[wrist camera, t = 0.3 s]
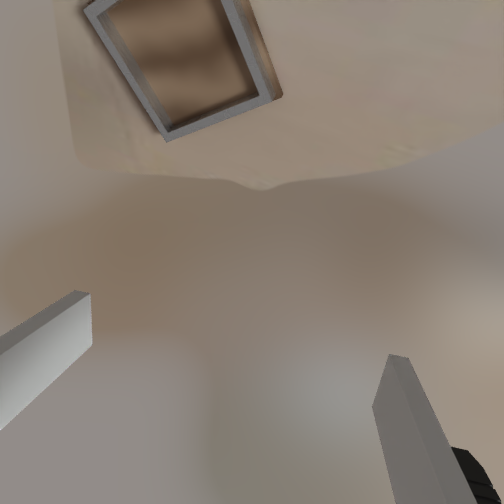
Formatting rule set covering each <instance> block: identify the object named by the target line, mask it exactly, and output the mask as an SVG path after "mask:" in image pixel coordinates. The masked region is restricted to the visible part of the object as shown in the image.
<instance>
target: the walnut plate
mask: <svg viewBox="0 0 504 504" xmlns="http://www.w3.org/2000/svg"><path fill="white" fill-rule="evenodd" d="M94 1H95V0H92V1H90V2H89V3H88V4H89V5H90V4H92V3H93V2H94ZM240 2H241V4H242V7H243V10H244V12H245V15H246V18H247V20H248V23H249V25H250V28H251V31H252V33H253V36H254V39H255V41H256V44H257V47H258V49H259V52H260V54H261V57H262V60H263V62H264V65H265V68H266V70H267V73H268V75H269V78H270V81H271V83H272V86H273V89H274V91H275V94H276V95H275V97H274V99H273V100H272V101H274V100H276V99H279V98H281V97H282V96H283V92H282V89H281V87H280V84H279V81H278V78H277V76H276V73H275V70H274V67H273V65H272V62H271V59H270V57H269V54H268V51H267V48H266V46H265V43H264V40H263V37H262V35H261V32H260V29H259V27H258V24H257V21H256V18H255V16H254V13H253V10H252V7H251V5H250V2H249V0H240ZM107 13H108V15H109V17H110V19H111V20H112V22H113V24H114V25H115V27H116V29H117V30H118V32H119V34H120V35H121V37H122V39H123V40H124V42H125V44H126V45H127V47H128V49H129V50H130V52H131V54H132V56H133V57H134V59H135V61H136V62H137V64H138V66H139V67H140V69H141V71H142V72H143V74H144V76H145V77H146V79H147V81H148V82H149V84H150V86H151V87H152V89H153V91H154V93H155V94H156V96H157V98H158V99H159V101H160V103H161V104H162V106H163V108H164V109H165V111H166V113H167V114H168V116H169V118H170V119H171V121H172V123H173V124H174V126H176V125H178V124H180V123H183V122H185V121H188V120H190V119H193V118H195V117H197V116H200V115H202V114H205V113H207V112H210V111H212V110H214V109H217V108H219V107H222V106H224V105H226V104H229V103H231V102H234V101H236V100H239V99H241V98H243V97H246V96H248V95H251V94H253V93H256V92H258V90H257V87H256V85H255V83H254V80H253V78H252V75H251V73H250V70H249V68H248V66H247V63H246V61H245V58H244V56H243V53H242V51H241V48H240V46H239V44H238V41H237V39H236V36H235V34H234V31H233V29H232V26H231V24H230V22H229V19H228V17H227V14H226V12H225V9H224V7H223V4H222V2H221V0H124V1H122V2H121V3H119V4H118V5H117V6H115V7H114V8H112V9H111V10H110V11H108V12H107Z"/></svg>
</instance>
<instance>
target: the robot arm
mask: <svg viewBox="0 0 504 504" xmlns="http://www.w3.org/2000/svg"><path fill="white" fill-rule="evenodd" d="M90 297H91V295H90V293H86V292H81V291H77V290H74V291H73V292H71V293H70V294H68V295H66V296H65V297H63V298H61V299H60V300H58V301H57V302H55V303H54V304H52V305H50V306H49V307H47V308H45V309H44V310H42V311H41V312H39V313H37V314H36V315H34V316H33V317H31V318H29V319H28V320H27V321H25V322H23V323H21V324H20V325H18V326H17V327H15V328H14V329H12V330H10V331H9V332H7V333H6V334H4V335H2V336H1V337H0V430H1V429H2V428H3V427H5V426H6V425H7V424H8V423H9V422H10V421H11V420H12V419H13V418H14V417H15V416H16V415H17V414H19V413H20V412H21V411H22V410H23V409H24V408H25V407H26V406H27V405H28V404H29V403H30V402H31V401H33V400H34V399H35V398H36V397H37V396H38V395H39V394H40V393H41V392H42V391H43V390H44V389H45V388H47V387H48V386H49V385H50V384H51V383H52V382H53V381H54V380H55V379H56V378H57V377H58V376H59V375H60V374H62V373H63V372H64V371H65V370H66V369H67V368H68V367H69V366H70V365H71V364H72V363H73V362H74V361H76V360H77V359H78V358H79V357H80V356H81V355H82V354H83V353H84V352H85V351H86V350H87V349H88V348H89V347H90V346H92V322H91V298H90ZM372 408H373V412H374V416H375V421H376V425H377V429H378V433H379V437H380V441H381V445H382V449H383V453H384V457H385V461H386V465H387V469H388V473H389V478H390V482H391V486H392V490H393V494H394V497H395V502H396V504H501V500H500V498H499V496H498V494H497V492H496V490H495V489H493V485H492V483H491V481H490V479H489V478H488V476H487V474H486V472H485V470H484V469H483V467H482V466H481V465H480V464H479V462H478V461H477V460H476V459H475V458H474V457H473V456H472V455H471V454H470V453H469V451H468V450H463V449H459V448H455V447H450V445H449V443H448V440H447V438H446V436H445V434H444V432H443V430H442V428H441V426H440V423H439V421H438V419H437V417H436V415H435V413H434V411H433V409H432V407H431V405H430V402H429V400H428V398H427V396H426V394H425V392H424V390H423V388H422V385H421V383H420V381H419V379H418V377H417V375H416V373H415V371H414V369H413V366H412V364H411V362H410V360H409V358H406V357H401V356H396V355H391V354H389V356H388V359H387V362H386V365H385V369H384V372H383V374H382V378H381V381H380V384H379V387H378V390H377V393H376V396H375V399H374V403H373V406H372Z"/></svg>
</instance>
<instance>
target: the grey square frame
mask: <svg viewBox="0 0 504 504" xmlns="http://www.w3.org/2000/svg"><path fill="white" fill-rule="evenodd" d="M122 1H124V0H95V1H94V2H93V3H92V4H90V5H89V6H88V7H86V8H85V9H84V10H83V11H84V13H85V14H86V16H87V17H88V19H89V21H90V22H91V24H92V25H93V27H94V28H95V30H96V32H97V33H98V35H99V36H100V38H101V40H102V41H103V43H104V44H105V46H106V48H107V49H108V51H109V52H110V54H111V55H112V57H113V59H114V60H115V62H116V63H117V65H118V67H119V68H120V70H121V71H122V73H123V75H124V76H125V78H126V79H127V81H128V82H129V84H130V86H131V87H132V89H133V90H134V92H135V94H136V95H137V97H138V98H139V100H140V101H141V103H142V105H143V106H144V108H145V109H146V111H147V113H148V114H149V116H150V117H151V119H152V121H153V122H154V124H155V125H156V127H157V128H158V130H159V132H160V133H161V135H162V136H163V138H164V140H165V141H166V142H169V141H171V140H174V139H177V138H179V137H182V136H184V135H187V134H190V133H192V132H195V131H197V130H200V129H202V128H205V127H208V126H210V125H213V124H215V123H218V122H220V121H223V120H226V119H228V118H231V117H233V116H236V115H238V114H241V113H244V112H246V111H249V110H251V109H254V108H257V107H259V106H262V105H264V104H267V103H269V102H272V100H273V99H274V97H275V95H276V94H275V91H274V89H273V86H272V83H271V81H270V78H269V75H268V73H267V70H266V68H265V65H264V62H263V60H262V57H261V54H260V52H259V49H258V47H257V44H256V41H255V39H254V36H253V33H252V31H251V28H250V25H249V23H248V20H247V18H246V15H245V12H244V10H243V7H242V4H241V2H240V0H221V2H222V4H223V7H224V9H225V12H226V14H227V17H228V19H229V22H230V24H231V26H232V29H233V31H234V34H235V36H236V39H237V41H238V44H239V46H240V48H241V51H242V53H243V56H244V58H245V61H246V63H247V66H248V68H249V70H250V73H251V75H252V78H253V80H254V83H255V85H256V87H257V90H258V92H256V93H253V94H251V95H248V96H246V97H243V98H241V99H239V100H236V101H234V102H231V103H229V104H226V105H224V106H222V107H219V108H217V109H214V110H212V111H210V112H207V113H205V114H202V115H200V116H197V117H195V118H193V119H190V120H188V121H185V122H183V123H180V124H178V125H176V126H174V124H173V123H172V121H171V119H170V118H169V116H168V114H167V113H166V111H165V109H164V108H163V106H162V104H161V103H160V101H159V99H158V98H157V96H156V94H155V93H154V91H153V89H152V87H151V86H150V84H149V82H148V81H147V79H146V77H145V76H144V74H143V72H142V71H141V69H140V67H139V66H138V64H137V62H136V61H135V59H134V57H133V56H132V54H131V52H130V50H129V49H128V47H127V45H126V44H125V42H124V40H123V39H122V37H121V35H120V34H119V32H118V30H117V29H116V27H115V25H114V24H113V22H112V20H111V19H110V17H109V15H108V13H107V12H108V11H110V10H111V9H112V8H114V7H115V6H117V5H118V4H119V3H121V2H122Z"/></svg>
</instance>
